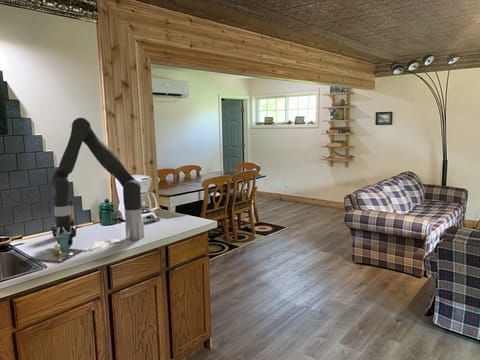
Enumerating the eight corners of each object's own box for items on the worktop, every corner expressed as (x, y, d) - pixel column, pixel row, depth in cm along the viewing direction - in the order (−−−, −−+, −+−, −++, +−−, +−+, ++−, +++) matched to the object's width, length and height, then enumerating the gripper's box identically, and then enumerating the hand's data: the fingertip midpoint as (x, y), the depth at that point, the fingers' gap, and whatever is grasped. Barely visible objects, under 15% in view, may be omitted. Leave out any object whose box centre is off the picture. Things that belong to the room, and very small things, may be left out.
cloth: (119, 237, 209) (119, 234, 208) (130, 243, 199) (130, 239, 198) (73, 248, 191) (72, 244, 190) (83, 255, 181) (82, 250, 181)
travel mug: (61, 237, 208) (58, 203, 205) (60, 233, 215) (58, 200, 212) (75, 235, 212) (73, 202, 208) (74, 231, 218) (72, 199, 215)
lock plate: (82, 251, 184) (81, 241, 183) (60, 263, 169) (59, 251, 168) (55, 249, 188) (54, 239, 187) (31, 260, 172) (30, 249, 171)
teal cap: (66, 243, 197) (66, 230, 196) (76, 243, 196) (75, 231, 195) (53, 249, 188) (52, 236, 187) (63, 250, 187) (62, 237, 186)
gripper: (79, 212, 191) (81, 243, 194) (55, 211, 194) (58, 241, 197) (69, 216, 184) (72, 248, 187) (45, 215, 187) (48, 246, 190)
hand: (65, 244), depth 192 cm, fingers closed on teal cap, 5 cm apart
